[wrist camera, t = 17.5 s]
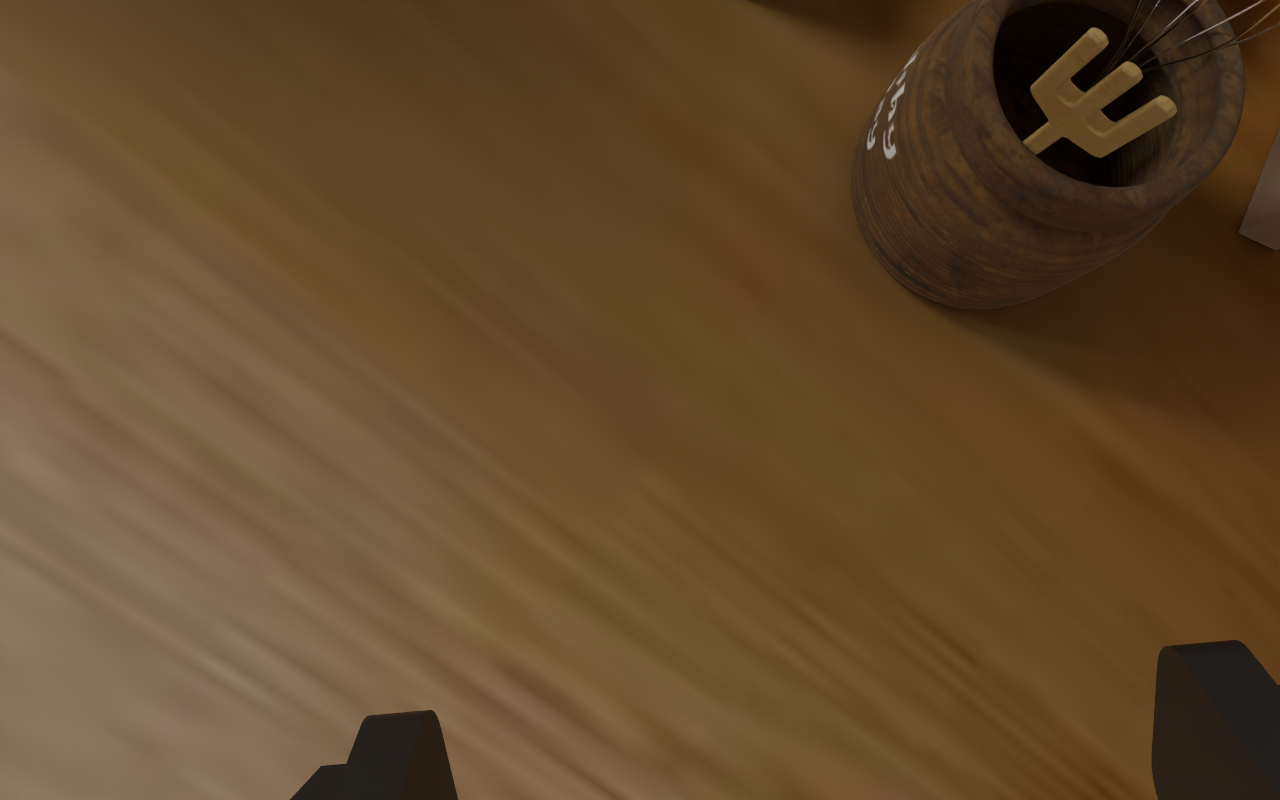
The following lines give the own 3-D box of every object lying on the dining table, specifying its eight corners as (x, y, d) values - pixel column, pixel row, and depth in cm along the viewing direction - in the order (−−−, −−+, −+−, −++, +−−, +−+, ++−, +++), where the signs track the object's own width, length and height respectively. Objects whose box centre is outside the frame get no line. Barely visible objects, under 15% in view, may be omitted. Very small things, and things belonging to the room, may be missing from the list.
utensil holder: (1139, 199, 27) (1601, -74, 15) (960, 379, 26) (1299, 239, 14) (964, 24, 27) (1282, -382, 15) (780, 196, 26) (966, -92, 14)
